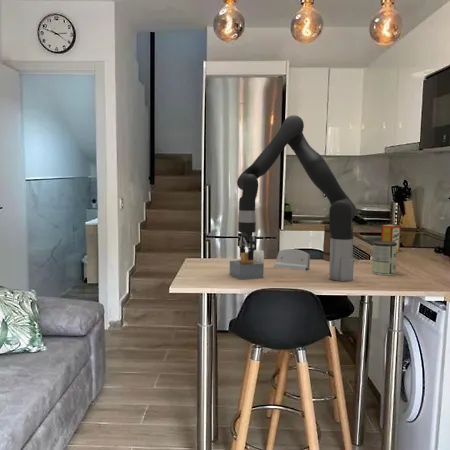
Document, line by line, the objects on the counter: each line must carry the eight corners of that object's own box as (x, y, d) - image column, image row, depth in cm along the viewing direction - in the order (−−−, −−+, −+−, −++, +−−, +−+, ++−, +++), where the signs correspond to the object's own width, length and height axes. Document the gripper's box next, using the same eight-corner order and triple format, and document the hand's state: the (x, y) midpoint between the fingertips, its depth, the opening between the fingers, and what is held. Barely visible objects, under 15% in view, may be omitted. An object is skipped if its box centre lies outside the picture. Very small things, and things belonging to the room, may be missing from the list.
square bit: (252, 276, 204) (252, 253, 203) (244, 277, 202) (244, 254, 201) (248, 274, 208) (249, 252, 207) (240, 275, 206) (240, 252, 205)
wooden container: (355, 262, 243) (357, 219, 241) (327, 262, 242) (328, 219, 240) (346, 257, 257) (348, 216, 255) (319, 257, 257) (321, 216, 255)
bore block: (263, 277, 202) (263, 263, 201) (239, 279, 198) (239, 265, 197) (252, 272, 212) (252, 259, 212) (229, 274, 208) (229, 260, 207)
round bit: (265, 271, 216) (266, 251, 215) (253, 272, 214) (254, 252, 213) (260, 268, 222) (260, 249, 221) (248, 269, 220) (248, 250, 219)
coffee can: (371, 270, 220) (372, 240, 219) (395, 271, 217) (396, 241, 216) (371, 274, 210) (372, 243, 209) (396, 276, 207) (397, 244, 206)
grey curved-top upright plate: (273, 267, 226) (276, 246, 228) (277, 269, 230) (280, 249, 232) (305, 270, 218) (309, 249, 220) (309, 272, 221) (312, 252, 223)
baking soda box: (390, 253, 273) (392, 225, 272) (380, 251, 278) (381, 224, 277) (399, 251, 279) (400, 224, 278) (389, 250, 284) (390, 223, 283)
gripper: (262, 222, 198) (261, 260, 199) (248, 219, 211) (247, 255, 212) (245, 222, 195) (245, 261, 196) (232, 219, 208) (232, 256, 209)
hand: (246, 258), depth 204 cm, fingers open, 8 cm apart
